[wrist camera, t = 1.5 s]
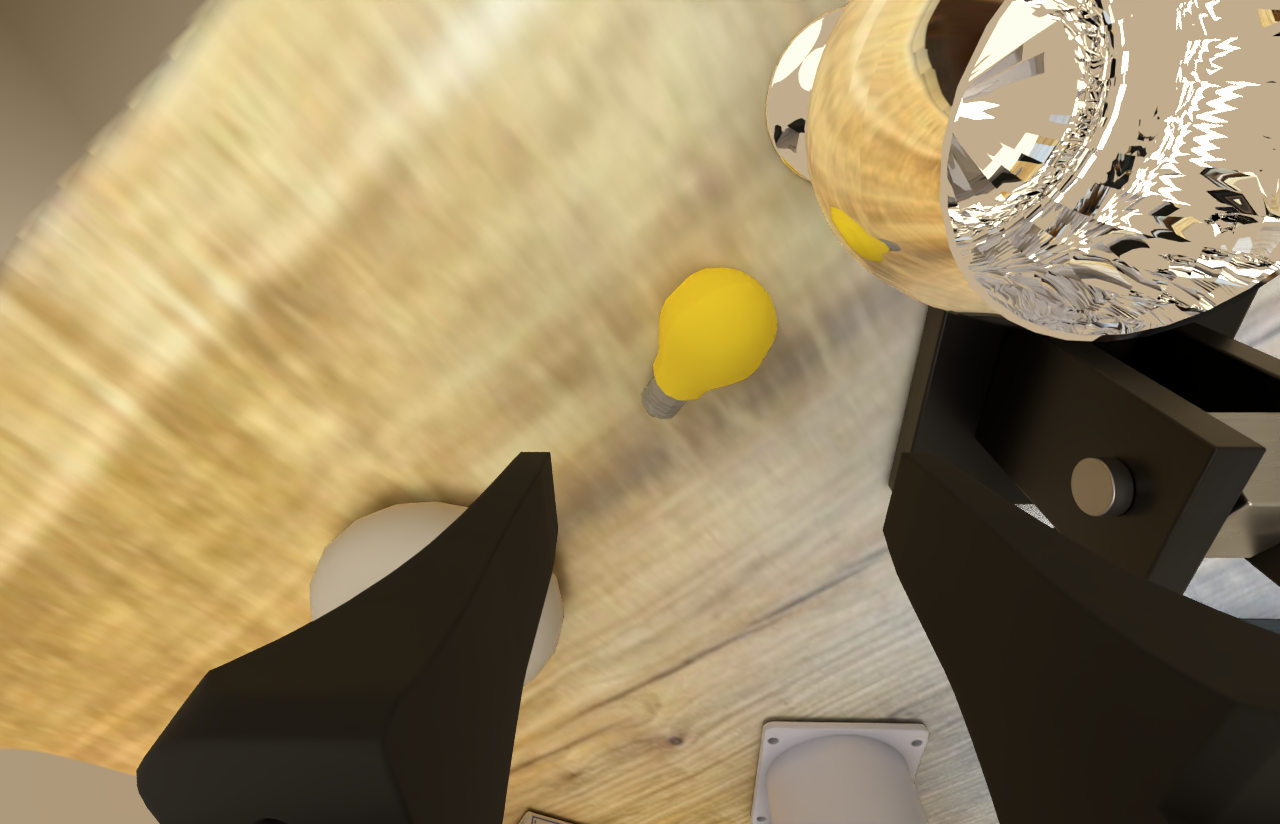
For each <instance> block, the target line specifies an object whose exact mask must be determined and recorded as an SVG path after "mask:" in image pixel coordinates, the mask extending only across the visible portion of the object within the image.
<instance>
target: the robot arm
mask: <svg viewBox="0 0 1280 824" xmlns="http://www.w3.org/2000/svg"><path fill="white" fill-rule="evenodd" d="M883 532H884V536H885V539H886V542H887V545H888V549H889V552H890V555H891V558H892V561H893V564H894V567H895V570H896V573H897V575H898V577H899V579H900V581H901V583H902V586H903V588H904V590H905V592H906V594H907V596H908V598H909V600H910V602H911V604H912V606H913V608H914V610H915V612H916V614H917V616H918V618H919V620H920V622H921V624H922V626H923V628H924V630H925V632H926V634H927V637H928V639H929V641H930V643H931V645H932V647H933V649H934V651H935V653H936V655H937V657H938V659H939V661H940V663H941V665H942V667H943V669H944V671H945V673H946V675H947V678H948V680H949V682H950V684H951V687H952V689H953V691H954V693H955V696H956V699H957V701H958V704H959V707H960V709H961V712H962V715H963V718H964V720H965V723H966V726H967V728H968V731H969V734H970V736H971V739H972V742H973V745H974V748H975V751H976V753H977V756H978V759H979V762H980V765H981V768H982V771H983V774H984V777H985V780H986V783H987V786H988V789H989V792H990V795H991V797H992V801H993V804H994V807H995V810H996V814H997V817H998V820H999V823H1000V824H1280V634H1278V633H1275V632H1273V631H1270V630H1267V629H1264V628H1262V627H1259V626H1256V625H1254V624H1251V623H1248V622H1246V621H1243V620H1241V619H1238V618H1236V617H1233V616H1231V615H1228V614H1226V613H1223V612H1221V611H1218V610H1216V609H1213V608H1211V607H1209V606H1206V605H1204V604H1202V603H1200V602H1197V601H1195V600H1193V599H1190V598H1188V597H1186V596H1183V595H1181V594H1179V593H1177V592H1174V591H1172V590H1170V589H1167V588H1165V587H1163V586H1161V585H1159V584H1157V583H1154V582H1152V581H1150V580H1148V579H1146V578H1144V577H1142V576H1140V575H1138V574H1136V573H1134V572H1132V571H1130V570H1128V569H1126V568H1124V567H1122V566H1120V565H1118V564H1116V563H1114V562H1112V561H1110V560H1108V559H1106V558H1104V557H1102V556H1100V555H1098V554H1097V553H1095V552H1093V551H1091V550H1089V549H1087V548H1085V547H1084V546H1082V545H1080V544H1078V543H1077V542H1075V541H1073V540H1071V539H1070V538H1068V537H1066V536H1065V535H1063V534H1061V533H1059V532H1058V531H1056V530H1054V529H1053V528H1051V527H1049V526H1048V525H1046V524H1044V523H1043V522H1041V521H1039V520H1038V519H1036V518H1035V517H1033V516H1031V515H1030V514H1028V513H1026V512H1025V511H1023V510H1022V509H1020V508H1019V507H1017V506H1015V505H1014V504H1012V503H1011V502H1009V501H1008V500H1006V499H1005V498H1003V497H1002V496H1000V495H999V494H997V493H996V492H994V491H993V490H991V489H989V488H988V487H986V486H985V485H983V484H982V483H980V482H979V481H977V480H976V479H974V478H973V477H971V476H970V475H968V474H967V473H965V472H964V471H962V470H961V469H959V468H958V467H956V466H955V465H953V464H951V463H950V462H948V461H947V460H945V459H943V458H942V457H940V456H938V455H936V454H934V453H933V452H902V454H901V458H900V462H899V466H898V470H897V474H896V478H895V482H894V486H893V490H892V495H891V499H890V503H889V507H888V511H887V515H886V519H885V523H884V527H883ZM557 534H558V523H557V513H556V503H555V494H554V484H553V474H552V465H551V455H550V452H521V453H520V454H519V455H518V456H516V458H515V459H514V460H513V461H512V462H511V463H510V464H509V465H508V466H507V467H506V468H505V469H504V471H503V472H502V473H501V474H500V475H499V476H498V477H497V478H496V479H495V480H494V481H493V483H492V484H491V485H490V486H489V487H488V488H487V489H486V490H485V491H484V492H483V493H482V494H481V495H480V496H479V497H478V498H477V499H476V500H475V501H474V502H473V503H472V504H471V505H470V506H469V507H468V508H467V509H466V510H465V511H464V512H463V513H462V514H461V515H460V516H459V517H458V518H457V519H456V520H455V521H454V522H453V523H452V524H451V525H449V526H448V527H447V528H446V529H445V530H444V531H443V532H442V533H441V534H440V535H438V536H437V537H436V538H435V539H434V540H433V541H432V542H431V543H429V544H428V545H427V546H426V547H424V548H423V549H422V550H421V551H419V552H418V553H417V554H416V555H414V556H413V557H412V558H410V559H409V560H408V561H406V562H405V563H404V564H402V565H401V566H400V567H398V568H397V569H396V570H394V571H393V572H391V573H390V574H389V575H387V576H386V577H384V578H382V579H381V580H379V581H378V582H376V583H375V584H373V585H372V586H370V587H369V588H367V589H366V590H364V591H362V592H361V593H359V594H358V595H356V596H355V597H353V598H352V599H350V600H349V601H347V602H345V603H344V604H342V605H340V606H339V607H337V608H335V609H333V610H332V611H330V612H328V613H326V614H325V615H323V616H321V617H319V618H318V619H316V620H314V621H312V622H310V623H308V624H306V625H305V626H303V627H301V628H299V629H297V630H295V631H293V632H291V633H290V634H288V635H286V636H284V637H282V638H280V639H278V640H276V641H274V642H271V643H269V644H267V645H265V646H263V647H261V648H258V649H256V650H254V651H252V652H250V653H248V654H246V655H243V656H241V657H239V658H237V659H235V660H233V661H231V662H228V663H226V664H224V665H222V666H219V667H217V668H215V669H212V670H210V671H209V672H208V673H207V674H206V675H205V676H204V678H203V679H202V680H201V681H200V683H199V684H198V685H197V687H196V688H195V689H194V691H193V692H192V693H191V694H190V696H189V697H188V698H187V700H186V701H185V702H184V704H183V705H182V706H181V708H180V709H179V711H178V712H177V713H176V715H175V716H174V717H173V719H172V720H171V721H170V723H169V724H168V726H167V727H166V728H165V730H164V731H163V732H162V734H161V735H160V736H159V738H158V739H157V740H156V742H155V743H154V745H153V746H152V747H151V749H150V750H149V751H148V753H147V754H146V755H145V757H144V758H143V760H142V762H141V764H140V765H139V767H138V769H137V787H138V791H139V794H140V795H141V797H142V799H143V801H144V803H145V805H146V806H147V808H148V809H149V810H150V812H151V813H152V814H153V816H154V817H155V818H156V819H157V821H158V822H159V823H160V824H502V823H503V816H504V808H505V801H506V793H507V786H508V780H509V773H510V766H511V759H512V752H513V746H514V739H515V733H516V726H517V720H518V714H519V708H520V701H521V695H522V689H523V685H524V680H525V676H526V671H527V667H528V663H529V659H530V655H531V652H532V648H533V644H534V640H535V637H536V633H537V629H538V625H539V622H540V618H541V614H542V610H543V607H544V603H545V599H546V595H547V591H548V587H549V584H550V580H551V576H552V572H553V565H554V557H555V550H556V542H557ZM928 738H929V732H928V730H927V728H926V726H924V725H922V724H913V723H848V722H782V721H772V722H768V723H766V724H765V725H764V726H763V730H762V738H761V745H760V752H759V759H758V767H757V774H756V781H755V788H754V796H753V803H752V810H751V817H750V824H929V822H928V820H927V817H926V814H925V811H924V809H923V806H922V803H921V801H920V798H919V795H918V792H917V790H916V787H915V784H914V782H913V780H914V777H915V775H916V772H917V769H918V766H919V763H920V761H921V758H922V755H923V752H924V749H925V747H926V744H927V741H928Z"/></svg>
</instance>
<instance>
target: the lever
mask: <svg viewBox="0 0 1280 824" xmlns="http://www.w3.org/2000/svg"><path fill="white" fill-rule="evenodd" d="M1207 413H1208V414H1210V415H1212V416H1213V417H1215V418H1217V419H1218V420H1220V421H1222V422H1223V423H1225V424H1227V425H1229V426H1230V427H1232V428H1234V429H1235V430H1237V431H1239V432H1240V433H1242V434H1244V435H1245V436H1247V437H1249V438H1250V439H1252V440H1254V441H1255V442H1257V443H1259V444H1260V445H1262V446H1264V447H1265V448H1266V452H1265V454H1264V455H1263V457H1262V459H1261V460H1260V462H1259V464H1258V466H1257V467H1256V469H1255V471H1254V473H1253V474H1252V476H1251V478H1250V479H1249V481H1248V483H1247V485H1246V486H1245V488H1244V490H1243V492H1242V493H1241V495H1240V497H1239V498H1238V500H1237V502H1236V504H1235V505H1234V507H1233V509H1232V511H1231V512H1230V514H1229V516H1228V517H1227V519H1226V521H1225V523H1224V524H1223V526H1222V528H1221V530H1220V531H1219V533H1218V535H1217V536H1216V538H1215V540H1214V542H1213V543H1212V545H1211V547H1210V549H1209V550H1208V552H1207V554H1206V555H1205V557H1214V558H1251V557H1253V556H1255V555H1257V554H1259V553H1261V552H1263V551H1265V550H1267V549H1269V548H1271V547H1273V546H1275V545H1277V544H1279V543H1280V412H1207ZM1053 529H1054V530H1056V531H1058V530H1057V529H1056V528H1055V527H1054V528H1053ZM1058 532H1059V531H1058ZM1059 533H1060V532H1059Z"/></svg>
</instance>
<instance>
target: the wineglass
mask: <svg viewBox="0 0 1280 824" xmlns="http://www.w3.org/2000/svg"><path fill="white" fill-rule="evenodd" d="M766 121H767V128H768V132H769V136H770V139H771V142H772V144H773V147H774V149H775V150H776V152H777V153H778V155H779V156H780V158H781V160H782V161H783V163H784V164H785V165H786V166H788V167H789V168H790V169H791V170H792V171H793V172H794V173H795V174H796V175H798V176H800V177H802V178H804V179H806V180H808V181H810V182H811V183H812V186H813V189H814V192H815V195H816V198H817V202H818V204H819V206H820V208H821V211H822V213H823V215H824V216H825V218H826V220H827V222H828V224H829V225H830V227H831V229H832V231H833V233H834V234H835V236H836V237H837V239H838V240H839V241H840V243H841V244H842V246H843V247H844V248H845V249H846V250H847V251H848V252H849V253H850V254H851V255H852V256H853V257H854V258H855V259H856V260H857V261H858V262H859V263H860V264H861V265H862V266H863V267H864V268H865V269H867V270H868V271H869V272H870V273H872V274H873V275H875V276H876V277H877V278H879V279H880V280H881V281H883V282H884V283H886V284H887V285H889V286H891V287H893V288H895V289H897V290H898V291H900V292H902V293H904V294H906V295H907V296H909V297H911V298H913V299H915V300H917V301H920V302H922V303H924V304H927V305H929V306H932V307H934V308H936V309H939V310H942V311H945V312H948V313H951V314H953V315H956V316H959V317H962V318H966V319H970V320H974V321H978V322H981V323H985V324H989V325H993V326H996V327H1000V328H1004V329H1008V330H1013V331H1018V332H1023V333H1028V334H1034V335H1039V336H1044V337H1050V338H1057V339H1063V340H1074V341H1096V342H1108V341H1115V340H1123V339H1130V338H1138V337H1145V336H1150V335H1153V334H1157V333H1160V332H1163V331H1166V330H1170V329H1173V328H1176V327H1180V326H1183V325H1186V324H1190V323H1193V322H1195V321H1197V320H1199V319H1202V318H1204V317H1206V316H1208V315H1210V314H1212V313H1214V312H1216V311H1218V310H1221V309H1223V308H1225V307H1227V306H1229V305H1231V304H1233V303H1235V302H1238V301H1240V300H1241V299H1243V298H1245V297H1246V296H1248V295H1249V294H1251V293H1252V292H1254V291H1255V290H1257V289H1258V288H1260V287H1261V286H1263V285H1264V284H1266V283H1267V282H1269V281H1270V280H1272V279H1273V278H1275V277H1276V276H1278V275H1279V274H1280V0H849V2H848V4H847V5H846V6H844V7H841V8H838V9H835V10H832V11H829V12H827V13H825V14H823V15H822V16H820V17H818V18H817V19H815V20H813V21H812V22H810V23H809V24H808V25H807V26H806V27H805V28H803V29H802V30H801V31H800V32H799V33H798V34H797V35H796V36H795V37H794V38H793V39H792V41H791V42H790V43H789V45H788V46H787V47H786V49H785V50H784V51H783V53H782V55H781V57H780V59H779V61H778V63H777V65H776V67H775V69H774V71H773V74H772V77H771V80H770V83H769V87H768V93H767V99H766Z"/></svg>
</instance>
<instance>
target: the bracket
mask: <svg viewBox="0 0 1280 824" xmlns="http://www.w3.org/2000/svg"><path fill="white" fill-rule="evenodd" d="M1258 289H1259V288H1258ZM1258 289H1257V290H1255V291H1254V292H1252V293H1251V294H1249V295H1248V296H1246V297H1245V298H1243V299H1241V300H1240V301H1238V302H1235V303H1233V304H1231V305H1229V306H1227V307H1225V308H1223V309H1221V310H1218V311H1216V312H1214V313H1212V314H1210V315H1208V316H1206V317H1204V318H1202V319H1199V320H1197V321H1195V322H1193V323H1190V324H1186V325H1183V326H1180V327H1176V328H1173V329H1170V330H1166V331H1163V332H1160V333H1157V334H1153V335H1150V336H1145V337H1138V338H1130V339H1123V340H1115V341H1108V342H1096V341H1074V340H1063V339H1057V338H1050V337H1044V336H1039V335H1034V334H1028V333H1023V332H1018V331H1013V330H1008V329H1004V328H1000V327H996V326H993V325H989V324H985V323H981V322H978V321H974V320H970V319H966V318H962V317H959V316H956V315H953V314H951V313H948V312H945V311H942V310H939V309H936V308H934V307H932V306H929V309H928V313H927V318H926V322H925V327H924V331H923V335H922V340H921V344H920V348H919V353H918V357H917V362H916V366H915V370H914V375H913V379H912V384H911V388H910V392H909V397H908V401H907V405H906V410H905V414H904V419H903V423H902V427H901V432H900V436H899V440H898V445H897V449H896V454H895V458H894V462H893V467H892V471H891V476H890V480H889V487H890V489H891V491H892V490H893V486H894V482H895V478H896V474H897V470H898V466H899V462H900V458H901V454H902V452H933V453H934V454H936V455H938V456H940V457H942V458H943V459H945V460H947V461H948V462H950V463H951V464H953V465H955V466H956V467H958V468H959V469H961V470H962V471H964V472H965V473H967V474H968V475H970V476H971V477H973V478H974V479H976V480H977V481H979V482H980V483H982V484H983V485H985V486H986V487H988V488H989V489H991V490H993V491H994V492H996V493H997V494H999V495H1000V496H1002V497H1003V498H1005V499H1006V500H1008V501H1009V502H1011V503H1012V504H1034V505H1035V506H1036V507H1037V508H1038V509H1039V510H1040V511H1041V512H1042V514H1043V515H1044V516H1045V517H1046V518H1047V519H1048V520H1049V521H1050V522H1051V524H1052V525H1053V526H1054V527H1055V528H1056V529H1057V530H1058V531H1059V532H1060V533H1061V534H1063V535H1065V536H1066V537H1068V538H1070V539H1071V540H1073V541H1075V542H1077V543H1078V544H1080V545H1082V546H1084V547H1085V548H1087V549H1089V550H1091V551H1093V552H1095V553H1097V554H1098V555H1100V556H1102V557H1104V558H1106V559H1108V560H1110V561H1112V562H1114V563H1116V564H1118V565H1120V566H1122V567H1124V568H1126V569H1128V570H1130V571H1132V572H1134V573H1136V574H1138V575H1140V576H1142V577H1144V578H1146V579H1148V580H1150V581H1152V582H1154V583H1157V584H1159V585H1161V586H1163V587H1165V588H1167V589H1170V590H1172V591H1174V592H1177V593H1179V594H1181V595H1183V593H1184V592H1185V590H1186V588H1187V587H1188V585H1189V583H1190V581H1191V580H1192V578H1193V576H1194V574H1195V573H1196V571H1197V569H1198V568H1199V566H1200V564H1201V562H1202V561H1203V559H1204V557H1205V555H1206V554H1207V552H1208V550H1209V549H1210V547H1211V545H1212V543H1213V542H1214V540H1215V538H1216V536H1217V535H1218V533H1219V531H1220V530H1221V528H1222V526H1223V524H1224V523H1225V521H1226V519H1227V517H1228V516H1229V514H1230V512H1231V511H1232V509H1233V507H1234V505H1235V504H1236V502H1237V500H1238V498H1239V497H1240V495H1241V493H1242V492H1243V490H1244V488H1245V486H1246V485H1247V483H1248V481H1249V479H1250V478H1251V476H1252V474H1253V473H1254V471H1255V469H1256V467H1257V466H1258V464H1259V462H1260V460H1261V459H1262V457H1263V455H1264V454H1265V452H1266V448H1265V447H1264V446H1262V445H1260V444H1259V443H1257V442H1255V441H1254V440H1252V439H1250V438H1249V437H1247V436H1245V435H1244V434H1242V433H1240V432H1239V431H1237V430H1235V429H1234V428H1232V427H1230V426H1229V425H1227V424H1225V423H1223V422H1222V421H1220V420H1218V419H1217V418H1215V417H1213V416H1212V415H1210V414H1208V413H1207V412H1280V360H1279V359H1277V358H1275V357H1272V356H1270V355H1268V354H1266V353H1263V352H1261V351H1259V350H1257V349H1254V348H1252V347H1250V346H1248V345H1245V344H1243V343H1241V342H1238V341H1236V340H1234V337H1235V335H1236V333H1237V331H1238V329H1239V327H1240V325H1241V323H1242V321H1243V319H1244V317H1245V315H1246V313H1247V311H1248V309H1249V307H1250V305H1251V303H1252V301H1253V299H1254V297H1255V295H1256V293H1257V291H1258ZM1245 559H1246V560H1247V561H1248V562H1250V563H1251V564H1252V565H1253V566H1255V567H1256V568H1257V569H1258V570H1259V571H1261V572H1262V573H1263V574H1264V575H1266V576H1267V577H1268V578H1269V579H1271V580H1272V581H1273V582H1274V583H1276V584H1277V585H1278V586H1279V587H1280V543H1279V544H1277V545H1275V546H1273V547H1271V548H1269V549H1267V550H1265V551H1263V552H1261V553H1259V554H1257V555H1255V556H1253V557H1251V558H1245Z"/></svg>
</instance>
